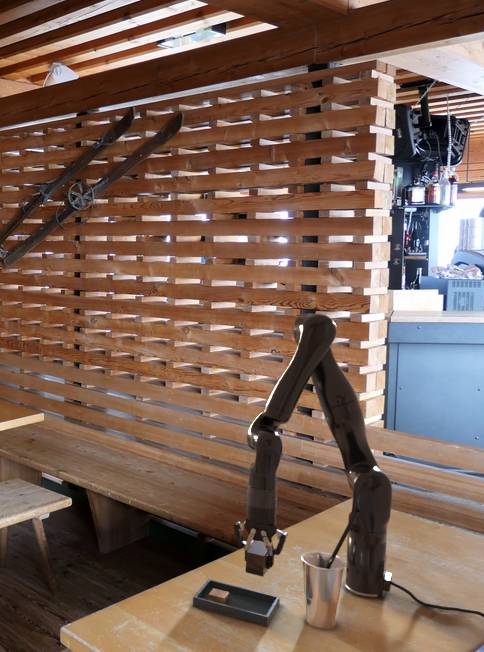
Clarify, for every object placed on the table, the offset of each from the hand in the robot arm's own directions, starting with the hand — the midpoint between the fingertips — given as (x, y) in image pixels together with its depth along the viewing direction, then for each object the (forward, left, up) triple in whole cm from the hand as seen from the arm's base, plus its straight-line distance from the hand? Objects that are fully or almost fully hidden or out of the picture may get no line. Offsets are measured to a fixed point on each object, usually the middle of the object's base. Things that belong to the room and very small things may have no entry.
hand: (258, 565), depth 196 cm
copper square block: (+6, +14, -5) cm, 16 cm away
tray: (+2, +14, -6) cm, 15 cm away
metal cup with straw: (-18, +11, -6) cm, 22 cm away
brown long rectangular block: (0, 0, -1) cm, 1 cm away
